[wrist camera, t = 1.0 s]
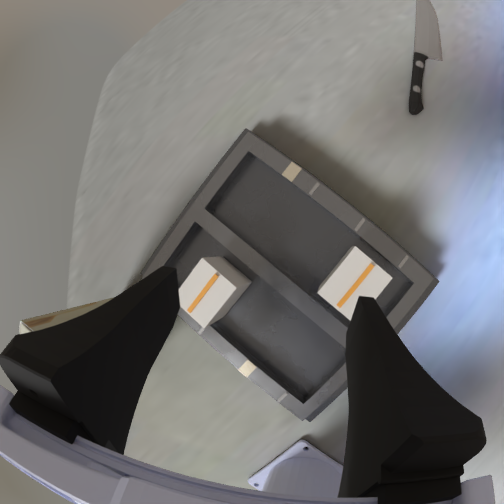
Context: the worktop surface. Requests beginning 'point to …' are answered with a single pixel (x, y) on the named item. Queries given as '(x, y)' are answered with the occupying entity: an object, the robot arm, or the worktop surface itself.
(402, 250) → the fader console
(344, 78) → the worktop surface
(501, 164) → the worktop surface
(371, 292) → the knob
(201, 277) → the rear fader knob
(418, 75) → the chef's knife
